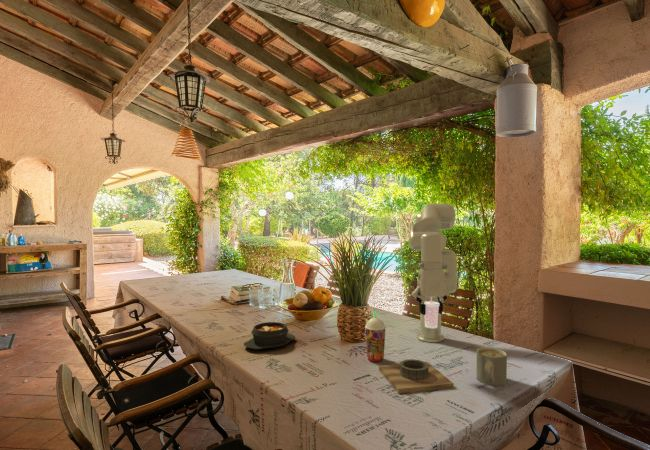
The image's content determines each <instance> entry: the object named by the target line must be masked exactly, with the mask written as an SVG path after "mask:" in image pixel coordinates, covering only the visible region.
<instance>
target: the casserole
mask: <svg viewBox="0 0 650 450" xmlns="http://www.w3.org/2000/svg"><path fill="white" fill-rule="evenodd" d="M250 334H251V335H252V338H250V339H249V340H247V341H245V342H244V343H243V346H244V347H246V348H248V349H252V350H263V349H275V348H279V347H283V346H286V345H288V344H289V343H290V342H291V341H293V340H295V339H296V336H295V335H294V334H292V333H290V332H289V329H288V327H287V324H285V323H283V322H277V321H275V322H273V321H269V322H262V323H258V324H256V325H254V326H253V328H252V329H251V332H250Z"/></svg>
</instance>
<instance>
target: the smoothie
mask: <svg viewBox="0 0 650 450" xmlns="http://www.w3.org/2000/svg"><path fill="white" fill-rule="evenodd" d="M364 328H365V329H364V330H365V344H366V346H365V347H366V357H367V358H368V361H369V362H372V363H380V362H383V360H384V357H385V342H386V329H387V326H386V325H385V323H384V321H383V320H382V319H381V318H379V317H377V310H375V311H374V316H373V317H372V318H369V319H368V321H367V322H366V324H365V326H364Z"/></svg>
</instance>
